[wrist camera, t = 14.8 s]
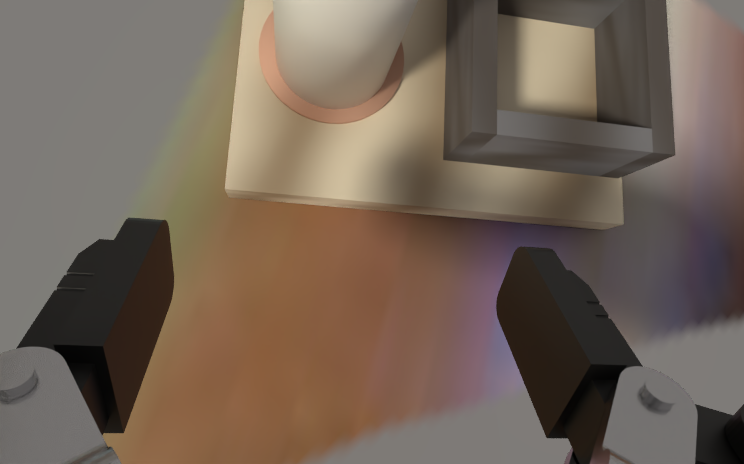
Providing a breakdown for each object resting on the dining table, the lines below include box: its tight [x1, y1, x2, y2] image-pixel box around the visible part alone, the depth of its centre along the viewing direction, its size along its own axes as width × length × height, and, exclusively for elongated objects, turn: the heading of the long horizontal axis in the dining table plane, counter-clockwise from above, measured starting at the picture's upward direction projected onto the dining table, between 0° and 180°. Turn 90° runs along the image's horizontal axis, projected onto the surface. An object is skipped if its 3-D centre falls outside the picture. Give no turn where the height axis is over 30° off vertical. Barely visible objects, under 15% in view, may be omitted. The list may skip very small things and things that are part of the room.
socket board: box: [225, 0, 675, 230], centre depth 22 cm, size 18×13×5 cm
